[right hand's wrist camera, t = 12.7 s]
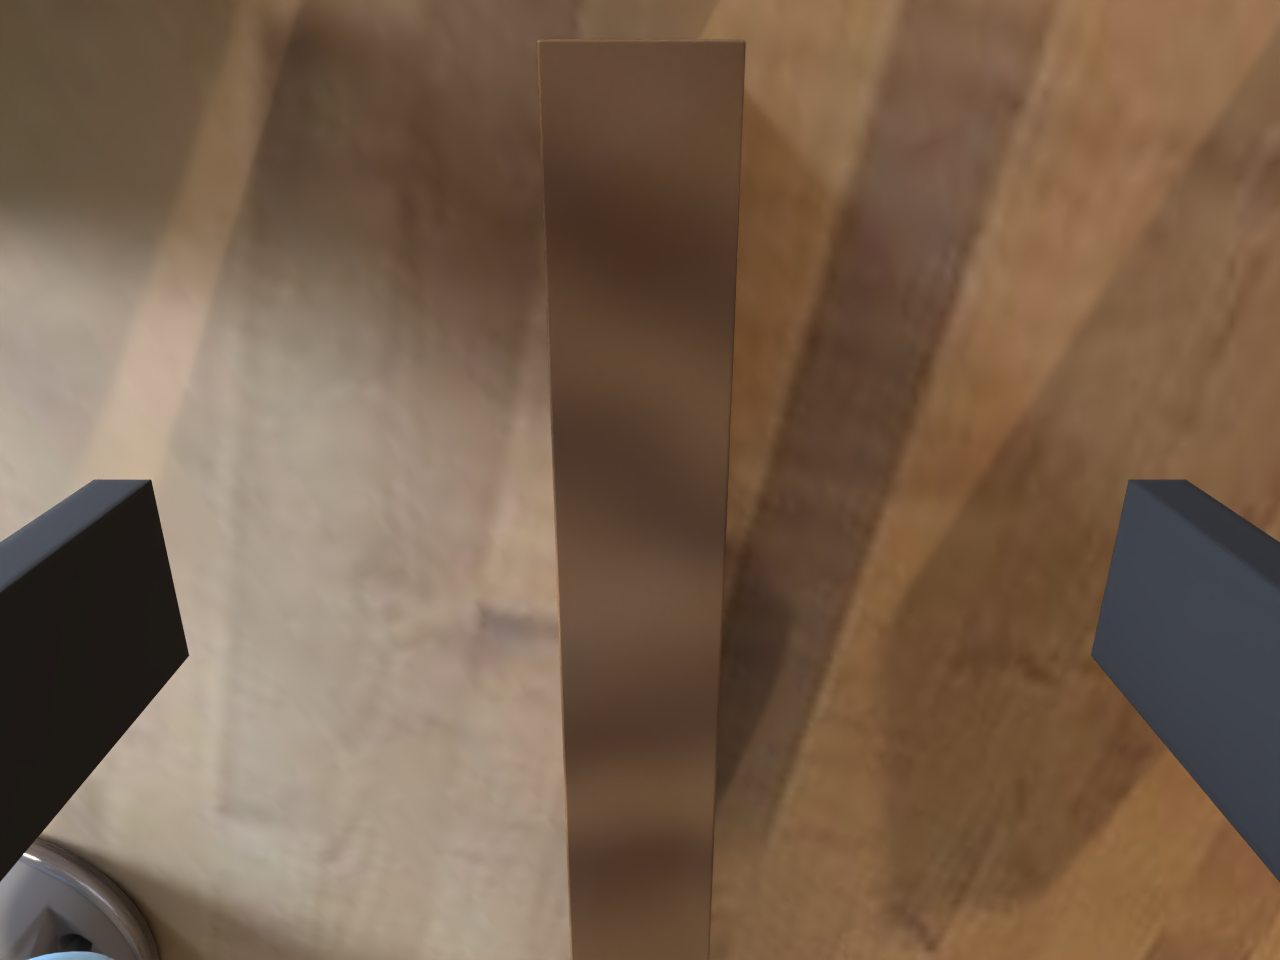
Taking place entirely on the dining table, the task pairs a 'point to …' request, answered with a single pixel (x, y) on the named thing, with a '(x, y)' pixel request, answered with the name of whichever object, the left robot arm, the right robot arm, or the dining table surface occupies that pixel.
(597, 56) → the post
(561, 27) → the dining table surface
